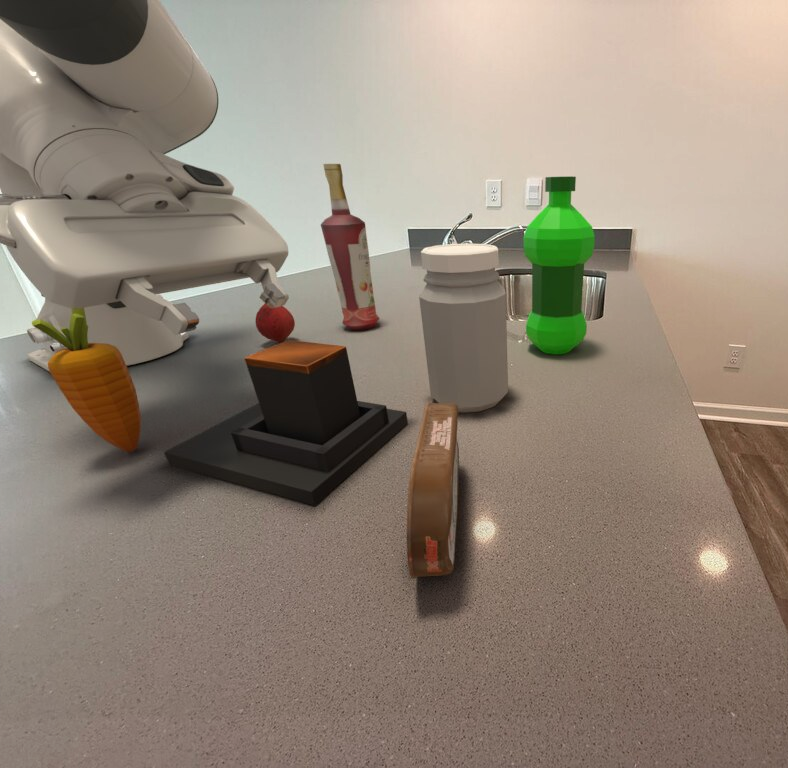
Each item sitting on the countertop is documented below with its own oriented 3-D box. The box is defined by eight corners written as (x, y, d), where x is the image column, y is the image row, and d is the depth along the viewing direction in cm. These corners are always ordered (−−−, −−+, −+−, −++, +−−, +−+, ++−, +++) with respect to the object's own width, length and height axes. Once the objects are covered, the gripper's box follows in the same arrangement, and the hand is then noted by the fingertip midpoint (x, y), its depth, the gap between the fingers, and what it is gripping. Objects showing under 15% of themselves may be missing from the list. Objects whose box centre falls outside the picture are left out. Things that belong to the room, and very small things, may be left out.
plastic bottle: (548, 365, 60) (553, 175, 49) (512, 345, 68) (509, 178, 57) (600, 352, 64) (614, 175, 54) (560, 334, 73) (566, 178, 62)
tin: (432, 463, 39) (422, 384, 35) (465, 461, 39) (459, 382, 35) (410, 609, 25) (390, 505, 22) (461, 605, 25) (450, 500, 22)
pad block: (271, 442, 40) (243, 357, 36) (309, 417, 44) (288, 339, 40) (329, 454, 38) (306, 365, 34) (363, 427, 42) (346, 346, 38)
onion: (283, 349, 69) (270, 302, 65) (254, 347, 70) (240, 301, 66) (306, 338, 74) (295, 294, 70) (278, 336, 75) (266, 293, 71)
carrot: (110, 471, 39) (26, 318, 32) (92, 456, 41) (10, 311, 35) (171, 446, 42) (106, 304, 36) (151, 433, 45) (87, 298, 38)
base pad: (169, 465, 39) (154, 434, 38) (285, 400, 51) (278, 375, 50) (315, 505, 34) (305, 471, 32) (408, 423, 46) (403, 395, 44)
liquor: (374, 332, 76) (345, 162, 64) (336, 333, 76) (299, 163, 64) (386, 321, 83) (361, 164, 70) (350, 321, 83) (320, 166, 71)
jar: (425, 387, 54) (407, 245, 46) (495, 376, 57) (489, 240, 49) (439, 423, 46) (420, 257, 38) (520, 407, 49) (518, 250, 41)
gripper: (-51, 156, 25) (116, 320, 27) (238, 176, 43) (331, 274, 45) (-52, 231, 29) (99, 375, 30) (219, 220, 46) (306, 311, 48)
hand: (240, 314), depth 37 cm, fingers open, 8 cm apart
